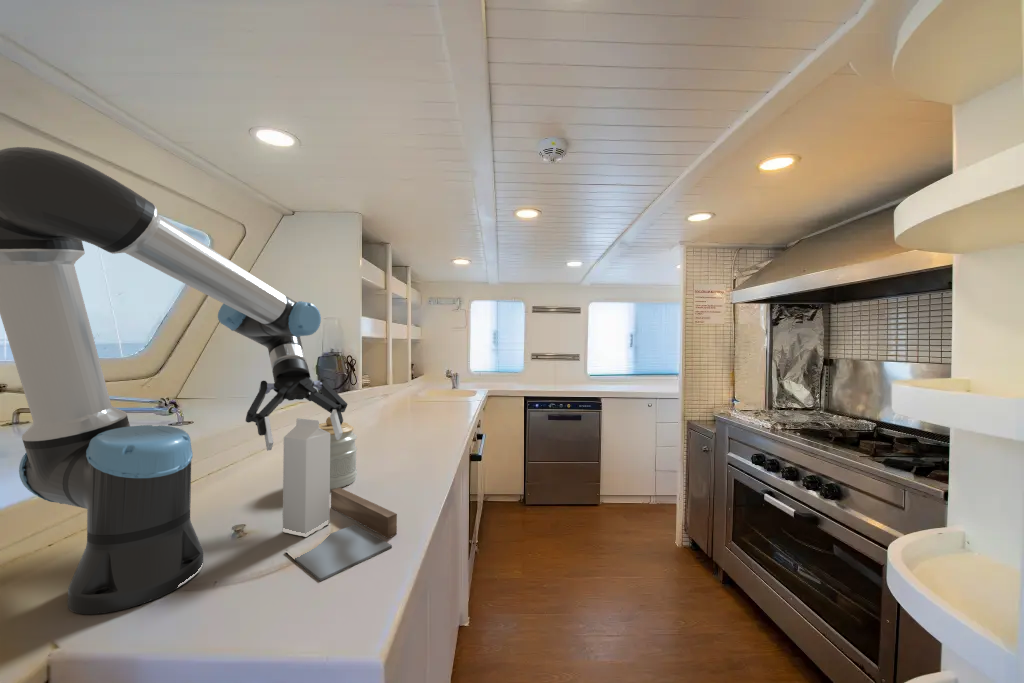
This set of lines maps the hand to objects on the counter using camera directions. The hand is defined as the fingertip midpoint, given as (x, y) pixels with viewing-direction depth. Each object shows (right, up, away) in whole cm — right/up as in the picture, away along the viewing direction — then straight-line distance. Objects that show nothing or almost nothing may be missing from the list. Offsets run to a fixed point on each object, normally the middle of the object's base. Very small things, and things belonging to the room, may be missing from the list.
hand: (306, 441), depth 83 cm
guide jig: (+9, -16, -8) cm, 20 cm away
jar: (-5, -17, +21) cm, 27 cm away
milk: (+3, -16, -5) cm, 18 cm away
